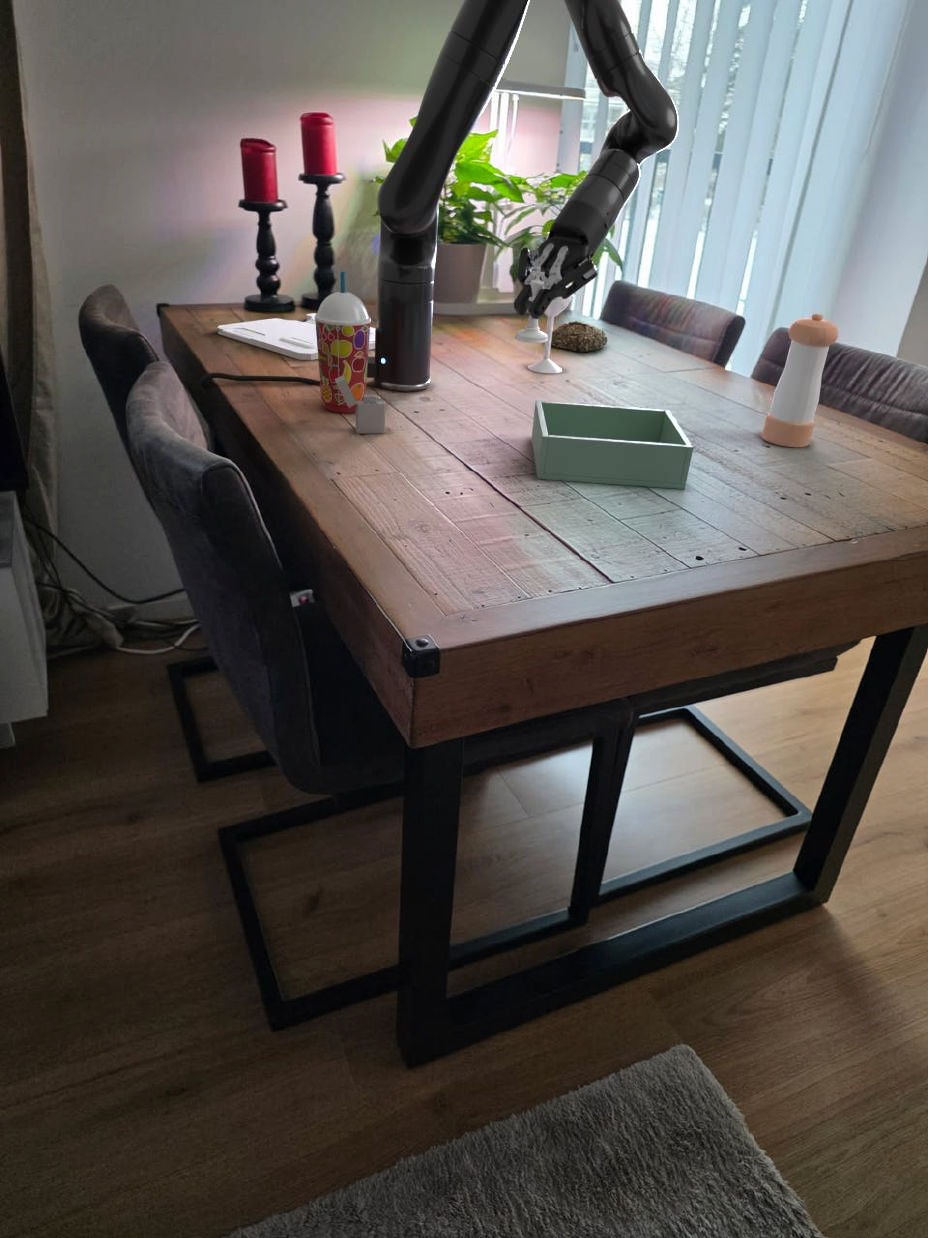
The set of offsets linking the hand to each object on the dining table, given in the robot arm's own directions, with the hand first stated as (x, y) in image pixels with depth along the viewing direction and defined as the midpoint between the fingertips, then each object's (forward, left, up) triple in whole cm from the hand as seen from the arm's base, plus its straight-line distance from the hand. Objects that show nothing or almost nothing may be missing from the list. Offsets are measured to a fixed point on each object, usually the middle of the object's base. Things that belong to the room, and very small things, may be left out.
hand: (525, 312), depth 123 cm
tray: (-40, +51, -17) cm, 67 cm away
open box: (+12, -13, -17) cm, 25 cm away
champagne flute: (+7, +39, -17) cm, 43 cm away
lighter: (-23, -7, -17) cm, 29 cm away
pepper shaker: (+43, +4, -17) cm, 47 cm away
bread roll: (+15, +62, -17) cm, 66 cm away
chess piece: (+1, +2, -4) cm, 5 cm away
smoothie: (-27, +4, -17) cm, 32 cm away
